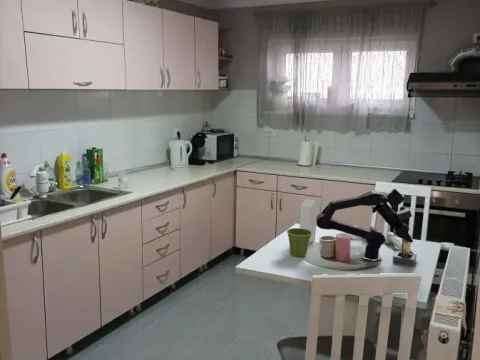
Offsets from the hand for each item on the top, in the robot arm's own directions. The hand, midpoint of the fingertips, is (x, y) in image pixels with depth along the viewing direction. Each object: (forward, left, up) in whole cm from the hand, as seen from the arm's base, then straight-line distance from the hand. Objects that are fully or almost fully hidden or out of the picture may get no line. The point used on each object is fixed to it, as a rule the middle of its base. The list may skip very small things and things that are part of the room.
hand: (409, 238), depth 214 cm
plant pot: (-35, +36, -11) cm, 51 cm away
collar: (-1, +1, -11) cm, 11 cm away
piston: (-1, +1, -11) cm, 11 cm away
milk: (-16, +47, -11) cm, 51 cm away
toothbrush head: (+12, +12, -12) cm, 20 cm away
